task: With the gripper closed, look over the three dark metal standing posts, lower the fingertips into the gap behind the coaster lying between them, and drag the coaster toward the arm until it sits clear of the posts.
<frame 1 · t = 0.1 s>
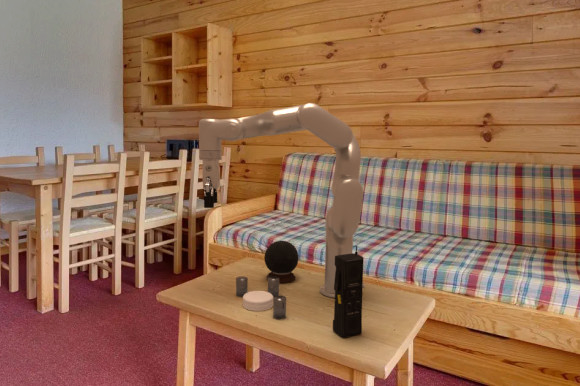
hand: (210, 205, 154), 31 cm above the table, tool pointing down, fingers open, 9 cm apart
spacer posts: (258, 305, 148), on the table
portable radio: (345, 333, 129), on the table
black ball on stand: (281, 279, 174), on the table
coaster: (258, 306, 148), on the table
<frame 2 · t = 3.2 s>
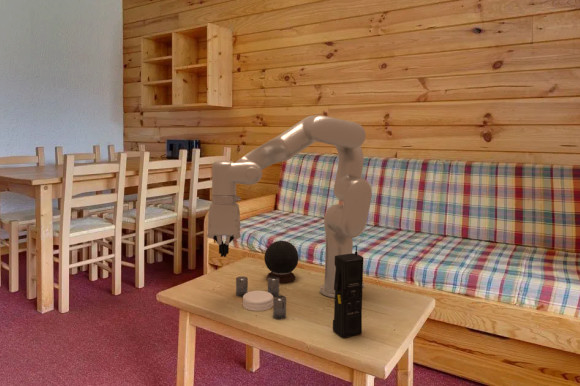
hand: (223, 255, 145), 17 cm above the table, tool pointing down, fingers closed
nothing on the table moved.
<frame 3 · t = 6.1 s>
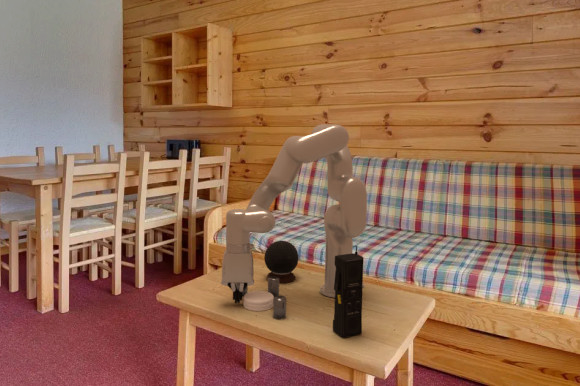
hand: (237, 301, 147), 1 cm above the table, tool pointing down, fingers closed
coaster: (258, 306, 148), on the table, touching gripper
everything else where it was.
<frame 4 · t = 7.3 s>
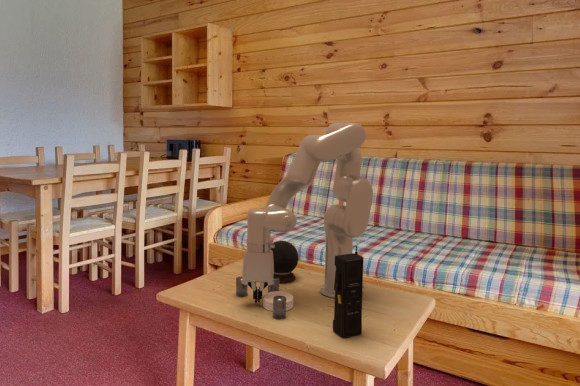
hand: (257, 301, 147), 1 cm above the table, tool pointing down, fingers closed
coaster: (278, 306, 148), on the table
everything else where it was.
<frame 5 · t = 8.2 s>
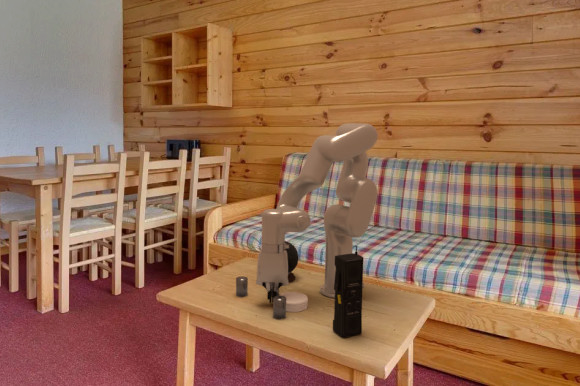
hand: (271, 301, 148), 1 cm above the table, tool pointing down, fingers closed
coaster: (292, 307, 148), on the table
everything else where it was.
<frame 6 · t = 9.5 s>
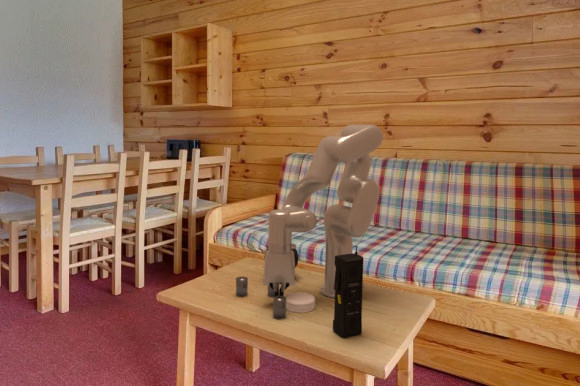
hand: (279, 301, 148), 1 cm above the table, tool pointing down, fingers closed
coaster: (299, 307, 147), on the table
everything else where it was.
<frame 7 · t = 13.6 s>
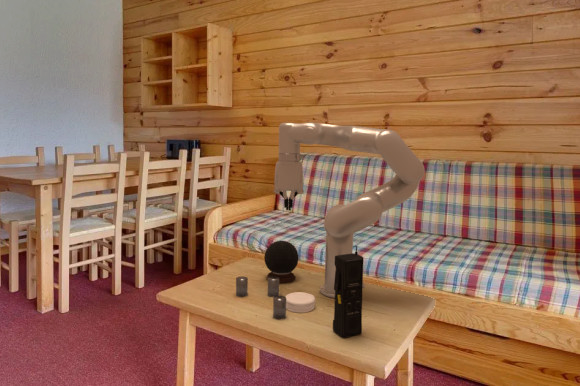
hand: (288, 209, 160), 29 cm above the table, tool pointing down, fingers closed
nothing on the table moved.
at the end: coaster inside the target area (1.7 cm from its centre), on the table; coaster moved 13.8 cm from its start; coaster tilted 0° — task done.
